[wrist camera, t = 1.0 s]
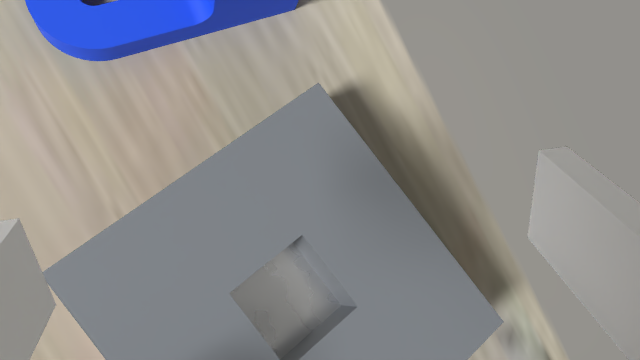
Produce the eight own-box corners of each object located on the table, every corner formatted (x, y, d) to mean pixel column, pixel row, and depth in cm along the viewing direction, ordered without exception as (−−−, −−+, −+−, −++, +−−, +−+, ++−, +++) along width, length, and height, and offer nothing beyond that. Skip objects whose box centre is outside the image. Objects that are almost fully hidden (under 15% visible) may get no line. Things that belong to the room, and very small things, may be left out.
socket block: (60, 276, 33) (40, 273, 28) (302, 107, 39) (318, 82, 35) (254, 529, 33) (266, 569, 28) (464, 318, 39) (503, 321, 34)
